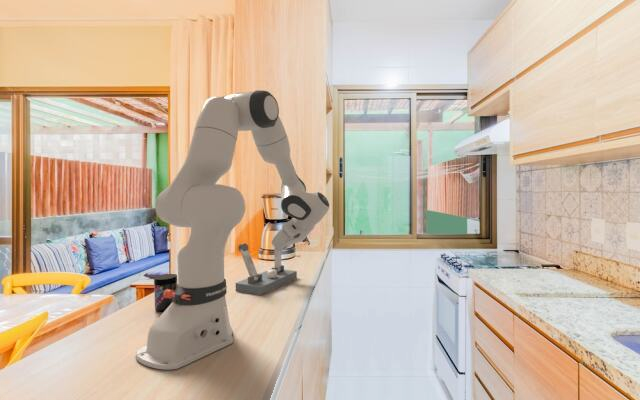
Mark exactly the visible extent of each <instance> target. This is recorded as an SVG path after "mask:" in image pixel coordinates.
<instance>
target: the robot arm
mask: <svg viewBox="0 0 640 400" xmlns="http://www.w3.org/2000/svg"><path fill="white" fill-rule="evenodd" d="M271 93H272V92H271ZM271 93H270V92H269V91H267V90H254V91H247V92H236V93H232V94H229V95H226V96H212V97H210V98H208V99H207V100H206V101H205V103H204V105H203V106H202V109H201V110H200V112H199V115H198V117H197V121H196V123H195V127H194V130H193V135H192V137H191V141H190V146H189V149H188V151H187V152H188V153H187V154H186V155H187V156H186V158H185V159H184V163H183V164H182V166H181V168H180V169H179V171H178V173H177V174H176V175H175V177H174V179H173V180H172V182H171V183H170V184H169V185H168V186H167V187H166V188H165V189H163V190H162V191H161V192H160V193H159V194H158V195H157V197H156V199H155V204H154V205H155V206H154V209H155V213H156V215H157V217H158V218H159V219H160V220H161V221H162V222H165V223H167V224H169V225H171V226H175V227H178V228H190V235H189V239H188V241H187V242H186V243H187V244H186V245H185V246H183V247H182V248H181V249H180V250H179V251H178V254H177V286H176V289H175V292H174V291H173V290H169V289H166V290H165V291H164V292H163V293H164V294H163V295H164V296H163V297H165V298H169V299H171V298H173V299H172V301H173V302H172V303H171V304H170V305H169V307H168V308H167V309H166V310H165V311H164V312H161V315H159V317H158V318H157V319H156V320H155V321H154V322H153V323H152V324H151V326H150V327H149V330H148V333H147V339H146V340H147V341H146V344H145V345H144V346H142V347H140V348H138V349H137V350H136V352H135V353H136V354H135V359H136V360H137V362H139V363H140V364H142V365H144V366H146V367H150V368H153V369H156V370H164V371H165V370H166V371H167V370H169V371H170V370H177V369H180V368H182V367H184V366H186V365H188V364H190V363H193V362H194V361H198V360H199V359H202V358H204V357H205V356H207V355H210V354H212V353H214V352H216V351H218V350H221V349H223V348H225V347H227V346H229V345H232V343H234V339H233V336H232V334H233V329H232V327H231V322H230V318H229V312H228V306H227V299H226V294H227V288H228V287H227V280H226V278H225V251H226V250H225V249H226V244H227V242H228V239H229V237H230V234H231V233H232V231H233V229H234V228H235V227H236V226H237V225H238V224H240V222H241V221H242V220H243V218H244V215H245V213H246V202H245V197H244V196H243V193H242V192H241V191H240V190H239V189H237V188H236V187H233V186H232V187H231V186H228V185H225V184H219V183H218V184H217V182H218V181H219V180H220V179H221V178H222V177H223V176H224V175H225V174H227V173H228V172H229V171H230V169H231V167H232V164H233V159H234V155H235V154H234V153H235V150H236V145H237V140H238V134H239V133H238V132H244V131H245V132H249V131H251V135H252V138H253V141H254V143H255V146H256V149H257V151H258V153H259V155H260V157H261V158H262V159H263V161H264V162H266V163H269V164H272V165H273V164H274V165H275V168H276V170H277V173H278V175H279V177H280V180H281V190H280V191H281V195H280V196H281V197H280V208H281V210H282V212H283V214H286V215H287V216H288V217H290V218H291V219H290V220H288V221H286V222H284V223H283V224H282V225H281V229H279V231H277V233H276V234H275V236H273V238H272V240H271V245H272V246H273V248H274V247H275V248H276V249H278V250H279V251H280V252H281V253H282V252H283V251H285V250H286V249H287V248H288V247H290V246H292V245H295V244H298V243H300V242H303V241H304V240H305V239H306V237H308V235H309V234H311V232H312V231H313V230H314V228H315V226H317V224H319V222H321V220H322V219H323V218H324V217H325V216H326V215H327V213H328V211H329V209H330V202H329V200H328V198H327V197H326V196H325V195H324V194H323V193H321V192H307V187H306V184H305V182H304V181H303V180H302V179H301V178H300V177H299V176H298V175H297V173H296V170H295V167H294V165H293V162H292V159H291V146H290V142H289V138H288V135H287V132H286V129H285V127H284V125H283V122H282V119H281V118H280V116H279V113H280V107H279V104H278V101H277V99H276V98H275V96H274V95H273V94H271Z"/></svg>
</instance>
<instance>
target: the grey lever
mask: <svg viewBox="0 0 640 400" xmlns="http://www.w3.org/2000/svg"><path fill="white" fill-rule="evenodd" d="M237 248H238V251H239V252H240V254H241V256H242V260H243V262H244V264H245V266H246V267H245V268H246V270H247V272H248V275H249V276H248V277H254V282H256V281H258V280H260V277H259V275H258V274H259V273H258V271H257V269H256V266H255V264H254V261H253V259H252V256H251V254H250V251H249V245H248V244H247V243H246V242H245V243H241V244H239V245H238V247H237Z"/></svg>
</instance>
